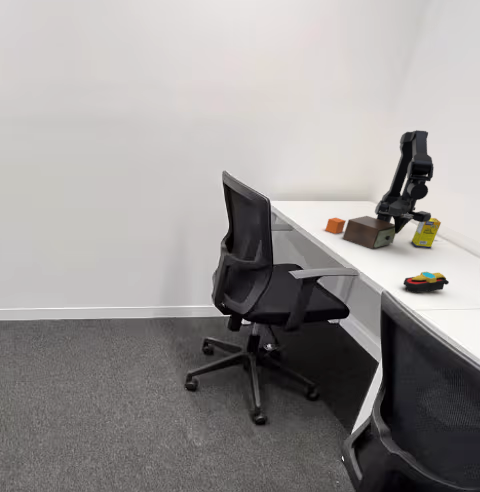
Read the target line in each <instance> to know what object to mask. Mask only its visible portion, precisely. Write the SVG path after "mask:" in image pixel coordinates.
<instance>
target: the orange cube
mask: <svg viewBox="0 0 480 492" xmlns="http://www.w3.org/2000/svg"><path fill="white" fill-rule="evenodd" d="M345 224H346V220H345V219H341V218H338V217H331V218H328V220H327V223H326V226H325V232H329V233H332V234H334V235H336V234H341V233H343V232H344V228H345Z"/></svg>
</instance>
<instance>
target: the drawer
mask: <svg viewBox="0 0 480 492" xmlns="http://www.w3.org/2000/svg"><path fill="white" fill-rule="evenodd" d="M396 235H397V234H396V233H395V228H389V229H385V230H381V231H379V232H378V235H377V238H376V241H375V244H374V247H377V248H380V246H381V247H385V246H388V245H387V244H389V245H391V244H393V242H394V240H395V237H396ZM384 245H385V246H384Z"/></svg>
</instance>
